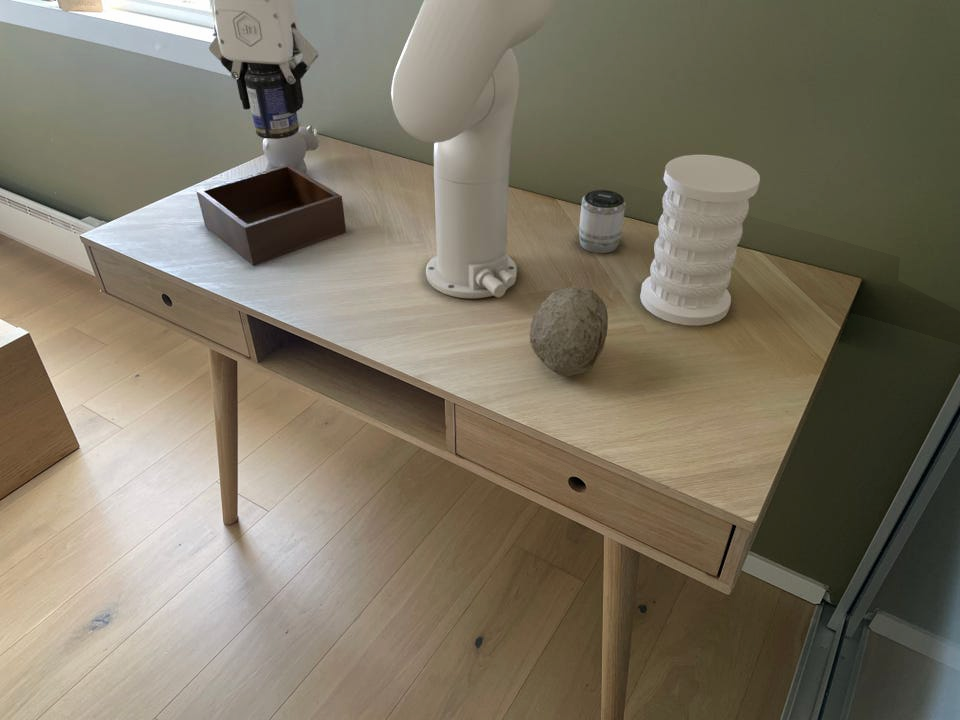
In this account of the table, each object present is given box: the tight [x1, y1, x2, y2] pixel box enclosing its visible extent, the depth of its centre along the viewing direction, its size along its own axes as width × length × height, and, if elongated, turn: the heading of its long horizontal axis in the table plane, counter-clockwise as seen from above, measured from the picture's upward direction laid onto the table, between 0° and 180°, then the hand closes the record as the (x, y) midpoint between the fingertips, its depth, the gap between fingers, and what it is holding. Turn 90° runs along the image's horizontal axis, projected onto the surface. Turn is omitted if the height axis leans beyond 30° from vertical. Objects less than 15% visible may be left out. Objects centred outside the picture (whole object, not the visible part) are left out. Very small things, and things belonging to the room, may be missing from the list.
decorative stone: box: [529, 285, 609, 377], centre depth 81 cm, size 10×8×10 cm
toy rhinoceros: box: [262, 121, 320, 174], centre depth 126 cm, size 7×12×8 cm, turn 148°
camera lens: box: [578, 189, 627, 254], centre depth 105 cm, size 6×6×8 cm
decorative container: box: [639, 154, 761, 327], centre depth 90 cm, size 12×12×18 cm
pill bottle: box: [245, 62, 299, 139], centre depth 99 cm, size 6×6×11 cm
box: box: [195, 164, 347, 266], centre depth 108 cm, size 16×16×6 cm
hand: (273, 107), depth 101 cm, fingers closed on pill bottle, 6 cm apart
